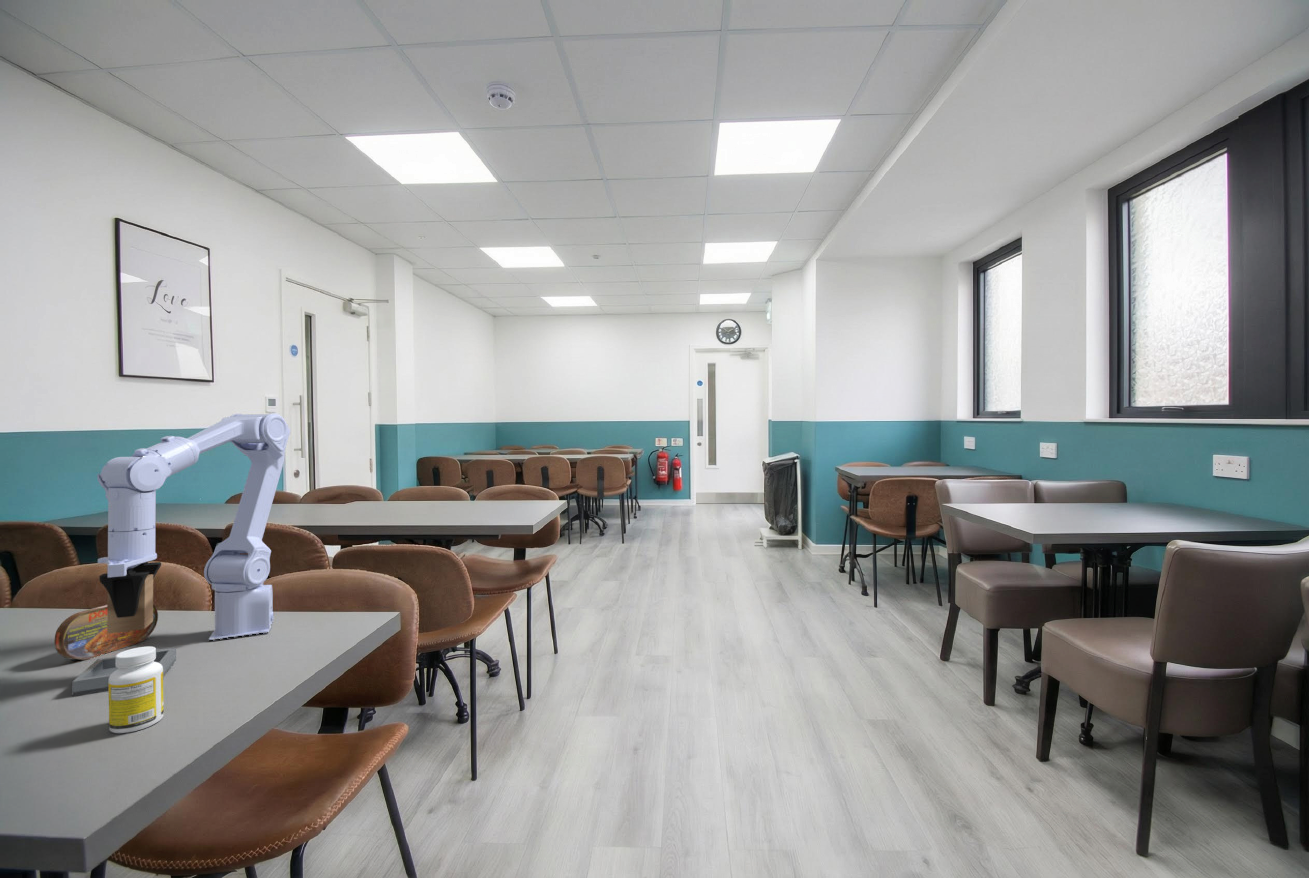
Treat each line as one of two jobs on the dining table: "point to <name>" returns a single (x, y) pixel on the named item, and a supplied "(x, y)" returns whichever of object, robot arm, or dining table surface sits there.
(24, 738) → the dining table surface
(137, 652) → the supplement bottle
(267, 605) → the robot arm
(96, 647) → the tin
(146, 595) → the block
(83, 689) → the tray
